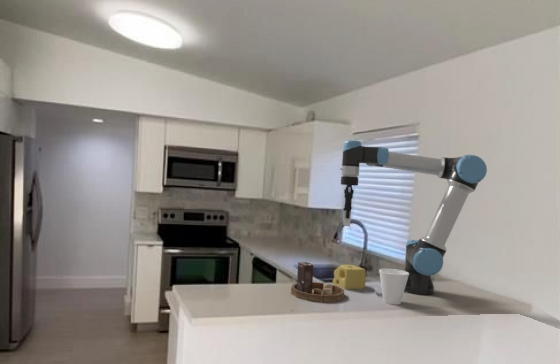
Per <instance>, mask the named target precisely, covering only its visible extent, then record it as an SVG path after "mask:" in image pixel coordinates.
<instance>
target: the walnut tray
mask: <svg viewBox="0 0 560 364" xmlns="http://www.w3.org/2000/svg"><path fill="white" fill-rule="evenodd" d="M324 284H325V282H317V281H313V283H312V294H309V293H305V292H301V291H299V290H297V282H296V283H292V285H291V287H290V294H292V296H294V297H295V298H298V299H301V300H304V301H309V302H310V301H311V302H317V303H334V302H340V301H342V300H344V299H345V289H343V288H341V287H339V286H337V285H334V284H332V295H322V294H323V286H324Z"/></svg>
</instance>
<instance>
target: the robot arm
mask: <svg viewBox="0 0 560 364" xmlns="http://www.w3.org/2000/svg"><path fill="white" fill-rule="evenodd" d="M341 162H342V163H341V167H340V168H339V169H340V170H341V178H340V185H341V186H342V185H343V186H344V185H345V186H346V187H345V189H343V190H344V191H343V192H344V205H343V206H344V208H343V221H342V222H343V227H351V218H352V209H353V207H352V206H353V205H352V203H353V202H352V200H353V199H354V189H353V186H356V187H357V186H358V185H359V176H360V164H366V165H367V166H370V167H378V168H379V167H380V168H386V169H387V168H388V169H392V170H399V171H400V170H401V171H407V172H415V173H418V174H419V173H420V174H428V175H433V176H437V178H439V179H443V180H446V181H447V184H448V186H447V188H446V190H445V193H444V195H443V197H442V199H441V201H440V204H439V205H438V208H437V210H436V212H435V214H434V216H433V218H432V220H431V223H430V225H429V227H428V230H427V231H426V234H425V235H424V236H422V237H420V238H419V240H417V239H408V240H407V241H406V245H405V261H404V271H406V272H408V273H409V276H408V279H407V283H406V286H405V290H404V293H405V292H406V293H410V294H414V295H415V294H416V295H425V296H427V295H433V294H434V293H435V285H434V282H433V278H432V276H434V275H436V274H438V273H439V272H441V271H442V269H443V265H444V256H445V255H446V252H447V248H446V243H447V242H448V239H449V236H450V235H451V232H452V230H453V228H454V226H455V224H456V222H457V220H458V218H459V215H460V213H461V211H462V209H463V206H464V205H465V203H466V201H467V199H468V197H469V195H470V194H471V193H473V192H475V191H476V188H477V186H478V185H479V183H481V181H483V180H484V179H485V178H486V176H487V172H488V168H487V164H486V163H485V161H484V159H483V158H481V157H479V156H477V155H474V154H465V155H463V156H457V157H444V156H443V157H441V158H435V157H429V156H422V155H415V154H414V155H413V154H409V153H408V154H407V153H401V152H400V153H399V152H394V151H390V150H389V148H388V147H382V146H364V145H362V142H361V141H359V140H345V142H343V147H342V161H341Z"/></svg>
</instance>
